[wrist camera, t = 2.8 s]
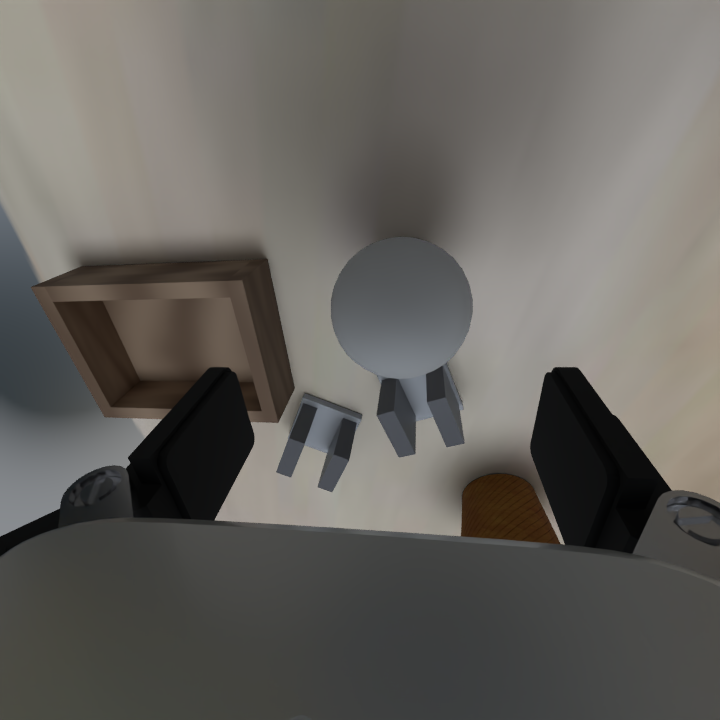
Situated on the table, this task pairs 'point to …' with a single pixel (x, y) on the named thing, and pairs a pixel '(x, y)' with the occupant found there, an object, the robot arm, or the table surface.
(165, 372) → the tray
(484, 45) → the table surface
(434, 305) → the lightbulb
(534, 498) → the disposable coffee cup
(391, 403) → the clip
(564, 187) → the table surface
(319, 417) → the clip
